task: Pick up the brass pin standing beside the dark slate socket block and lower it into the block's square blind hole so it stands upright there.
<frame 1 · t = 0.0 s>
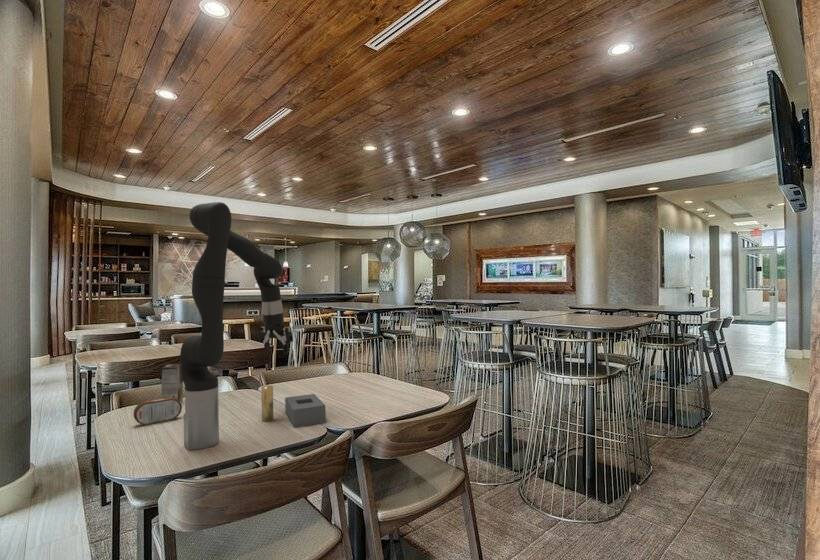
hand: (277, 353, 163), 22 cm above the table, tool pointing down, fingers open, 8 cm apart
tin: (158, 422, 152), on the table
socket block: (304, 417, 153), on the table
pin: (267, 420, 152), on the table
coffee box: (172, 404, 176), on the table
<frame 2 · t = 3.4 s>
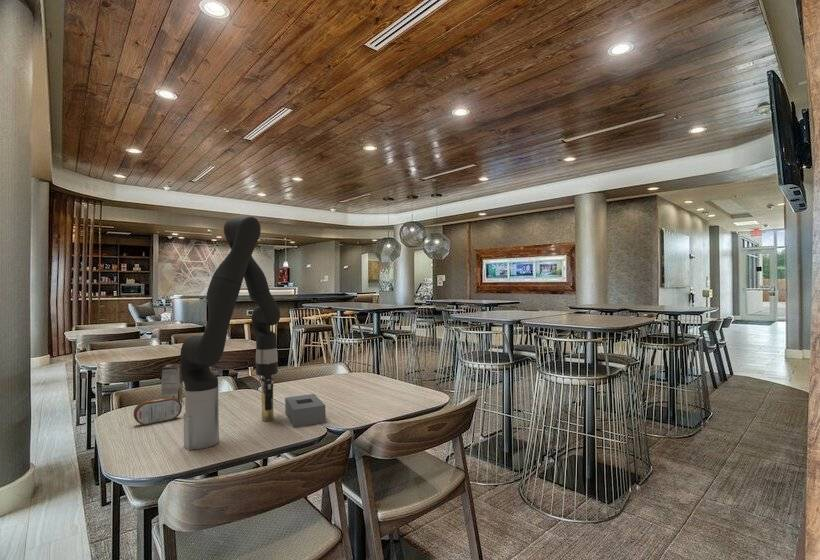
hand: (267, 408, 152), 4 cm above the table, tool pointing down, fingers closed on pin, 4 cm apart
pin: (267, 420, 152), on the table, touching gripper
everything else where it was.
when the fingers open (8 cm above the table, at t = 8.8 s): pin drops 1 cm, resting on socket block.
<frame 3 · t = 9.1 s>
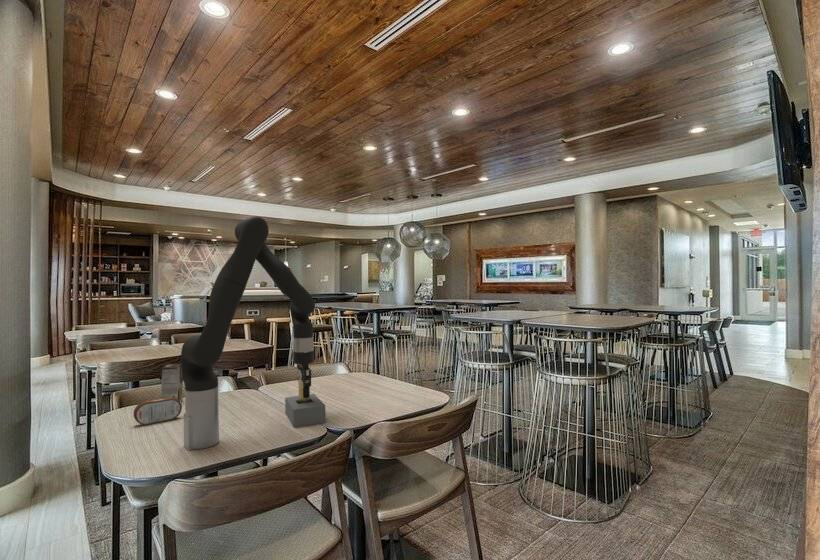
hand: (304, 395, 154), 8 cm above the table, tool pointing down, fingers open, 6 cm apart
pin: (304, 412, 154), point 2 cm above the table, touching socket block
everything else where it was.
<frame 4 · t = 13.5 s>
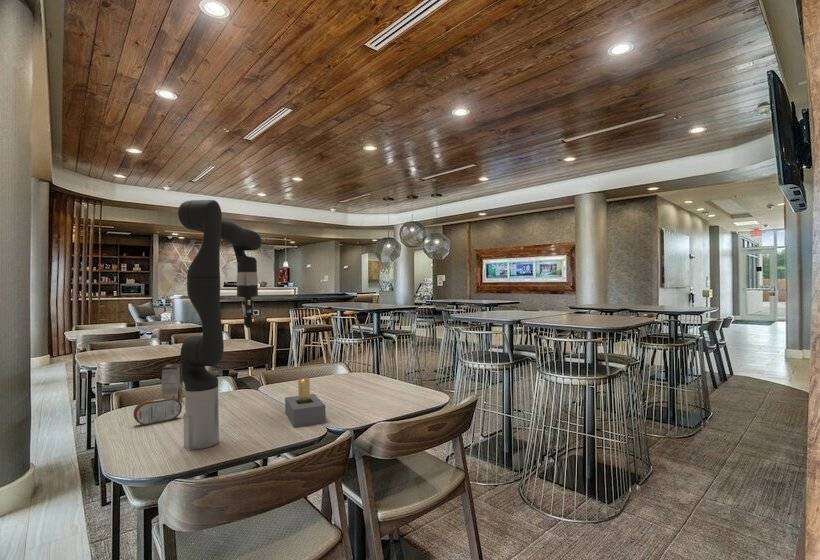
hand: (248, 326, 161), 33 cm above the table, tool pointing down, fingers open, 8 cm apart
nothing on the table moved.
at the end: pin 0.1 cm off-centre on the socket block, point 2.0 cm above the socket block's base; pin tilted 0°; the gripper is holding nothing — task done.
